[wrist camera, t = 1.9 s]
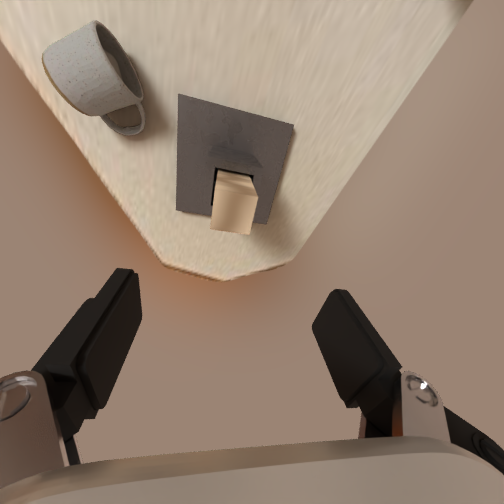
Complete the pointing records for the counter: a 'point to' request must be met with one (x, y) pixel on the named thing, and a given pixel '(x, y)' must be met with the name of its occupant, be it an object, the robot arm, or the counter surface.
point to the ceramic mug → (94, 74)
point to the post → (233, 202)
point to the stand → (226, 153)
